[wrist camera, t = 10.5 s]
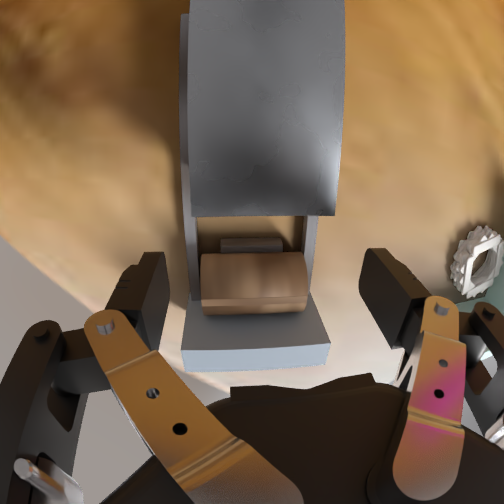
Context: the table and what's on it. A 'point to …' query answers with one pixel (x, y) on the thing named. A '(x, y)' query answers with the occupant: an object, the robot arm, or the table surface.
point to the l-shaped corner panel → (480, 271)
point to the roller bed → (240, 248)
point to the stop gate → (253, 340)
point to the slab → (265, 106)
